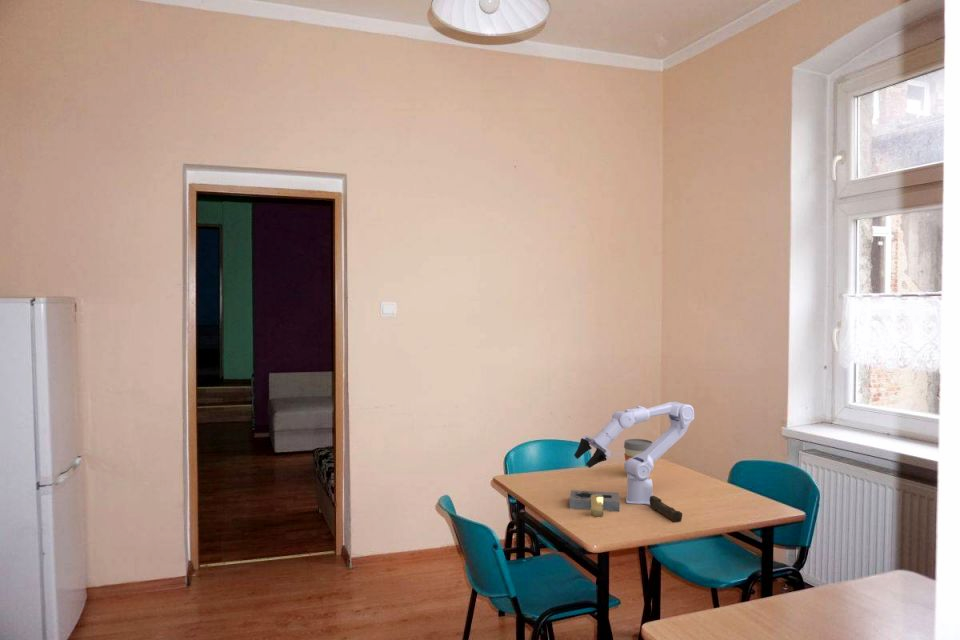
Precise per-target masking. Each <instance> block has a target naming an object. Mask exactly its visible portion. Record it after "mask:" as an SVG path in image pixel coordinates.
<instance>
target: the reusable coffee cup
mask: <svg viewBox="0 0 960 640" xmlns="http://www.w3.org/2000/svg"><path fill="white" fill-rule="evenodd" d="M653 443H654V441H652V440H648V439H643V438H629V439H625V440H624V445H623V448H624V452H625V453H624V460H625V462H626V460H628V459H629V458H632V457H634V456H635V455H637V454H641V453H643V452H644V451H645V450H646V449H647V448H649V447H650V446H651V445H652V444H653ZM625 462H624V463H625Z"/></svg>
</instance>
